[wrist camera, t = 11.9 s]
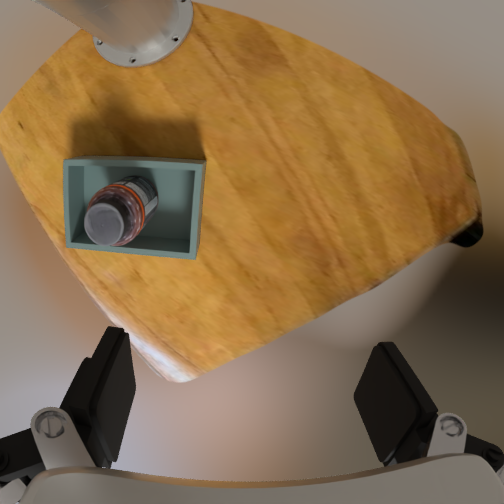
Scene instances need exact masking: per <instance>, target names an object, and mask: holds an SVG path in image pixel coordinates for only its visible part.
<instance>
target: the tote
mask: <svg viewBox="0 0 504 504" xmlns="http://www.w3.org/2000/svg"><path fill="white" fill-rule="evenodd" d="M205 170H206V160H195V159H180V158H163V157H140V156H78V157H73V158H69V159H64V163H63V195H64V221H65V236H66V248H76V249H86V250H96V251H107V252H117V253H127V254H138V255H149V256H159V257H170V258H181V259H193V260H196V256H197V252H198V248H199V244H200V230H201V217H202V204H203V192H204V181H205ZM133 175H134V176H135V175H137V176H142V177H145V178H146V179H148V180H149V181H150V182H152V184H153V185H154V186H155V188H156V190H157V192H158V207H157V210H156V212H155V214H154V215H153V217H152V218H151V219H150V220H149V221H148V223H147V224H146V225H145V226H144V227H143V229H142V230H141V231H140V232H139V234H138V235H137V236H136V237H135V238H134V239H133V240H131V241H130V242H128V243H127V244H124V245H120V246H112V245H110V246H101V245H98V244H96V243H94V242H93V241H92V240H91V239H90V238H89V236H88V235H87V233H86V231H85V227H84V218H85V215H86V212H87V207H88V204H89V202H90V200H91V198H92V197H93V195H94V194H95V193H97V192H98V191H99V190H100V189H102V188H104V187H106V186H108V185H110V184H112V183H114V182H116V181H118V180H121V179H123V178H125V177H128V176H133Z"/></svg>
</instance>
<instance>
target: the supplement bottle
mask: <svg viewBox="0 0 504 504" xmlns="http://www.w3.org/2000/svg"><path fill="white" fill-rule="evenodd" d="M157 207H158V192H157V190H156V188H155V186H154V185H153V184H152V182H150V181H149V180H148V179H146V178H145V177H142V176H137V175H135V176H134V175H133V176H128V177H125V178H123V179H121V180H118V181H116V182H114V183H112V184H110V185H108V186H106V187H104V188H102V189H100V190H99V191H98V192H97V193H95V194H94V195H93V197H92V198H91V200H90V202H89V204H88V207H87V212H86V215H85V218H84V227H85V231H86V233H87V235H88V236H89V238H90V239H91V240H92V241H93V242H94V243H96V244H98V245H101V246H110V245H112V246H120V245H124V244H127V243H128V242H130V241H131V240H133V239H134V238H135V237H136V236H137V235H138V234H139V232H140V231H141V230H142V229H143V227H144V226H145V225H146V224H147V223H148V221H149V220H150V219H151V218H152V217H153V215H154V214H155V212H156V210H157Z"/></svg>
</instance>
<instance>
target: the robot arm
mask: <svg viewBox="0 0 504 504" xmlns="http://www.w3.org/2000/svg"><path fill="white" fill-rule="evenodd" d="M33 1H35V2H37V3H39V4H41V5H43V6H45V7H46V8H48V9H50V10H52V11H53V12H55V13H57V14H59V15H60V16H62V17H64V18H65V19H67V20H69V21H70V22H72V23H74V24H75V25H77V26H79V27H80V28H82V29H83V30H85V31H86V32H88V33H90V34H91V35H93V42H94V45H95V48H96V49H97V51H98V52H99V54H100V55H101V56H102V57H103V58H104V59H106V60H107V61H109V62H111V63H113V64H115V65H118V66H122V67H142V66H147V65H150V64H153V63H156V62H158V61H160V60H162V59H164V58H165V57H167V56H168V55H170V54H171V53H172V52H174V51H175V50H176V49H177V48H178V47H179V46H180V45H181V44H182V42H183V41H184V40H185V38H186V37H187V35H188V33H189V31H190V29H191V26H192V22H193V13H194V12H193V7H192V3H191V0H33ZM183 1H185V2H183ZM175 39H178V41H174V40H175ZM102 42H103V43H102ZM101 43H102V44H101ZM133 60H136V61H135V62H134V63H133ZM135 391H136V383H135V376H134V370H133V363H132V356H131V348H130V339H129V334H128V333H125V332H124V329H123V328H118V327H111V326H108V327H107V329H106V331H105V333H104V335H103V336H102V338H101V340H100V342H99V344H98V346H97V348H96V350H95V352H94V354H93V356H92V358H88V357H86V358H85V359H84V360H83V362H82V363H81V365H80V367H79V369H78V371H77V373H76V375H75V377H74V379H73V381H72V383H71V385H70V387H69V389H68V391H67V393H66V395H65V397H64V399H63V401H62V403H61V405H60V408H56V407H47V408H43V409H41V410H39V411H38V412H37V413H35V415H34V416H33V417H32V419H31V428H29V429H27V430H24V431H21V432H18V433H15V434H12V435H10V436H7V437H4V438H1V439H0V504H15V503H16V502H19V504H504V454H503V452H502V450H501V449H500V448H499V447H498V446H496V445H494V444H491V443H488V442H486V441H484V440H481V439H478V438H476V437H474V436H471V435H469V434H467V427H466V424H465V422H464V421H463V420H462V419H461V418H460V417H459V416H457V415H455V414H452V413H444V414H441V415H440V416H438V414H437V412H438V409H437V407H436V405H435V404H434V402H433V401H432V399H431V398H430V396H429V394H428V393H427V391H426V390H425V388H424V387H423V385H422V384H421V382H420V381H419V379H418V378H417V376H416V375H415V373H414V372H413V370H412V369H411V367H410V366H409V364H408V363H407V361H406V360H405V358H404V357H403V355H402V354H401V352H400V351H399V350H398V348H397V347H396V345H395V344H394V343H393V342H380V343H378V344H377V346H375V347H374V348H373V350H372V352H371V355H370V358H369V360H368V362H367V365H366V367H365V369H364V372H363V374H362V376H361V379H360V381H359V383H358V385H357V388H356V390H355V392H354V401H355V403H356V406H357V408H358V411H359V413H360V415H361V418H362V420H363V423H364V425H365V427H366V430H367V432H368V435H369V437H370V440H371V442H372V444H373V447H374V449H375V452H376V454H377V457H378V459H379V461H380V462H383V464H384V467H381V468H377V469H372V470H367V471H362V472H356V473H349V474H343V475H336V476H328V477H320V478H311V479H300V480H287V481H261V482H233V481H208V480H193V479H182V478H173V477H164V476H155V475H148V474H141V473H135V472H129V471H122V470H115V469H109V468H111V464H112V461H113V462H116V461H117V459H118V455H119V451H120V446H121V443H122V439H123V435H124V431H125V427H126V424H127V420H128V416H129V413H130V409H131V406H132V402H133V399H134V395H135ZM102 467H106V468H102Z"/></svg>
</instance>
